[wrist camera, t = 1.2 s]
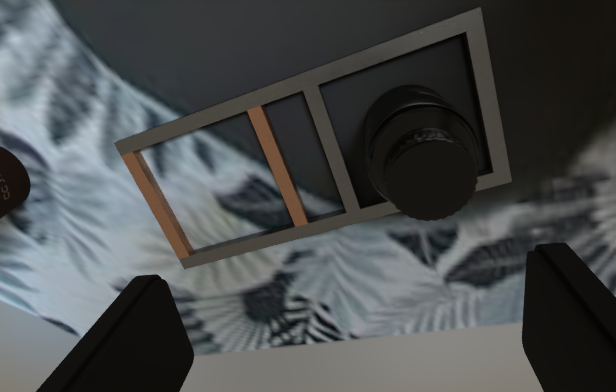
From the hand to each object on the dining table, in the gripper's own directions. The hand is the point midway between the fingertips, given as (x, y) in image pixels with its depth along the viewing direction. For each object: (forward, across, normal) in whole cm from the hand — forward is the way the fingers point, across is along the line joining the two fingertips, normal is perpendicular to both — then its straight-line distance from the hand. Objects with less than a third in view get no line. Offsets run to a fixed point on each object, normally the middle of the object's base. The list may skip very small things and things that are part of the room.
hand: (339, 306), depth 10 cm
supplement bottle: (+24, -4, +2) cm, 24 cm away
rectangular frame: (+23, +4, +3) cm, 24 cm away
